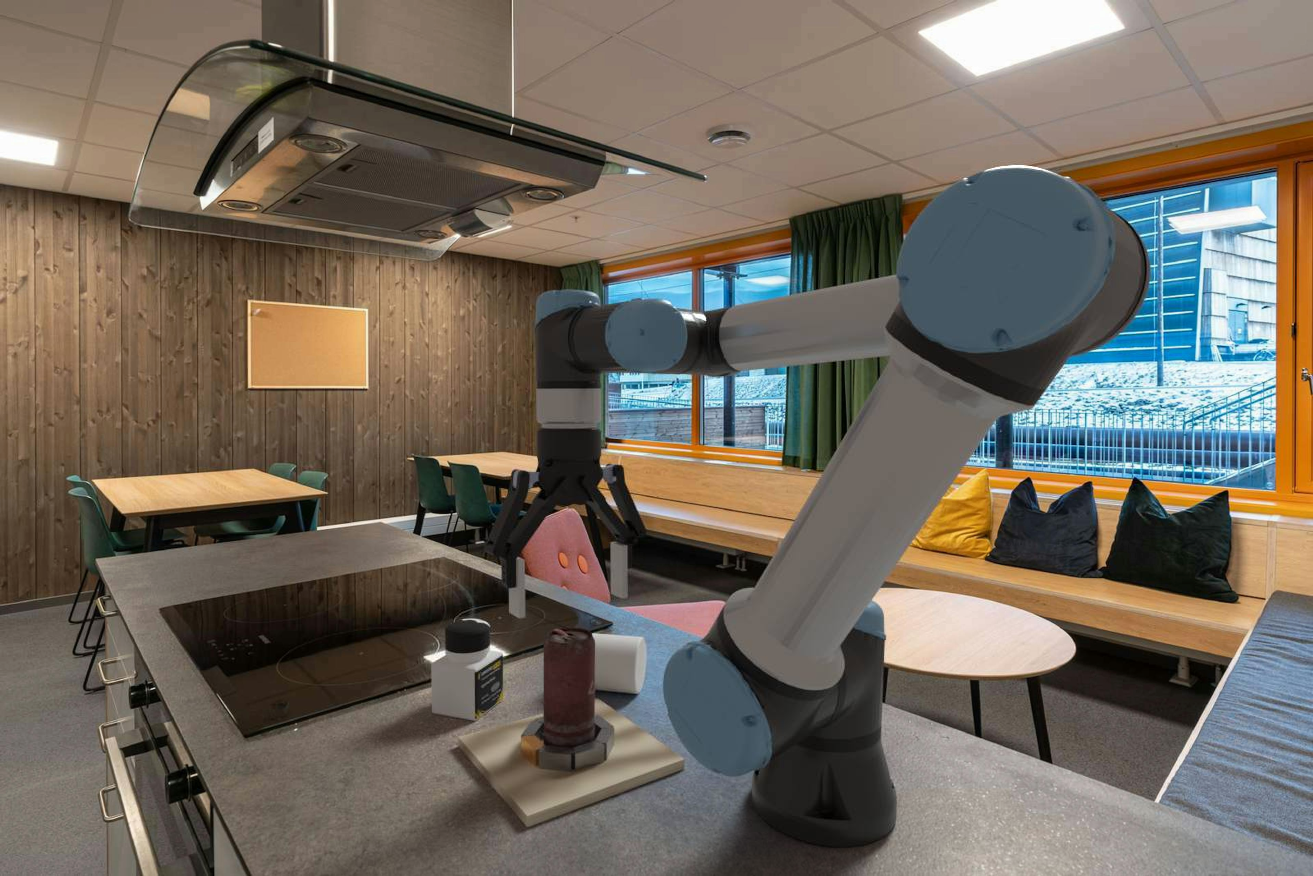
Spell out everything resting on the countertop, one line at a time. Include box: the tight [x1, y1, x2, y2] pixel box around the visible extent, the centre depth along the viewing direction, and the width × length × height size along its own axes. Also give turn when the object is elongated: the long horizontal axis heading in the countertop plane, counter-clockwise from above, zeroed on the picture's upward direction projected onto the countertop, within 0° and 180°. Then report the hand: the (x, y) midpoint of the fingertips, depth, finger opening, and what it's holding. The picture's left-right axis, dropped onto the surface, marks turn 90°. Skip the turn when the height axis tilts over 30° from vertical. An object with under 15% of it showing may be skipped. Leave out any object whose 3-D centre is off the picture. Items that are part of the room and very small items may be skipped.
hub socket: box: [521, 715, 614, 772], centre depth 86 cm, size 10×10×2 cm
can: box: [543, 627, 596, 748], centre depth 86 cm, size 6×6×14 cm
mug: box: [591, 632, 648, 695], centre depth 108 cm, size 12×10×8 cm
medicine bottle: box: [430, 618, 504, 722], centre depth 99 cm, size 7×7×12 cm
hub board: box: [457, 697, 686, 828], centre depth 86 cm, size 20×20×1 cm
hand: (570, 605), depth 85 cm, fingers open, 13 cm apart
